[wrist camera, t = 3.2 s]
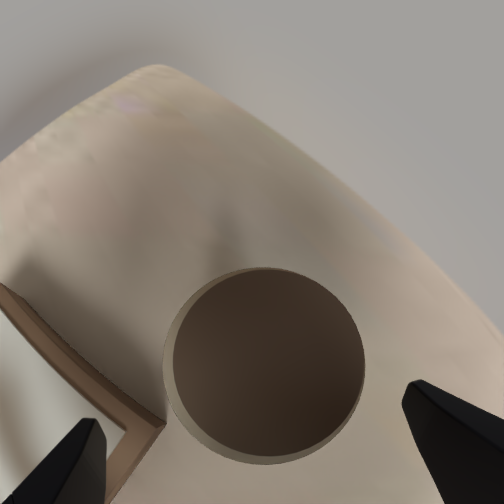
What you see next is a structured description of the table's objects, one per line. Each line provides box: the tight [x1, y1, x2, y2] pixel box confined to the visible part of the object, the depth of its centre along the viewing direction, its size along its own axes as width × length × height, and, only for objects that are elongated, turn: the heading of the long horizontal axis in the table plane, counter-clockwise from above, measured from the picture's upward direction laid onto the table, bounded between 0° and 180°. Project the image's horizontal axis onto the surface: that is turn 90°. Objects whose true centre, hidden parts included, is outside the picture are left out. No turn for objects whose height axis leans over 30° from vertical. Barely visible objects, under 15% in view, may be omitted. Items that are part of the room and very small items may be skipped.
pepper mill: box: [163, 268, 365, 465], centre depth 11 cm, size 4×4×12 cm
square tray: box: [0, 283, 167, 504], centre depth 12 cm, size 12×12×3 cm
